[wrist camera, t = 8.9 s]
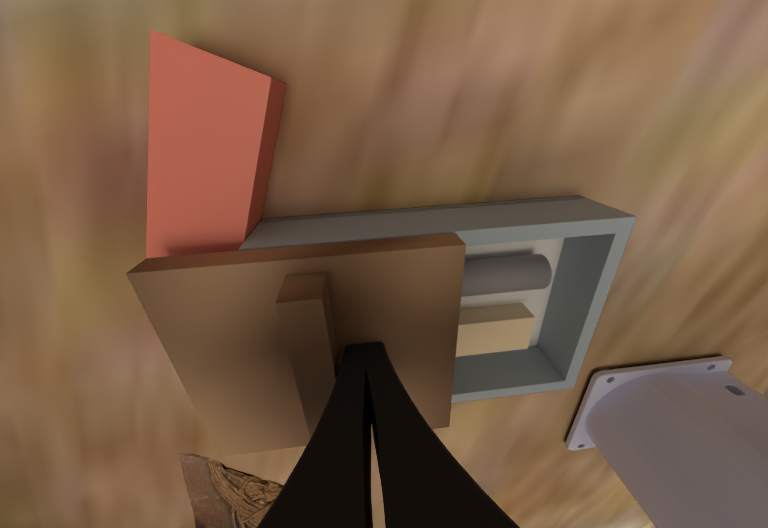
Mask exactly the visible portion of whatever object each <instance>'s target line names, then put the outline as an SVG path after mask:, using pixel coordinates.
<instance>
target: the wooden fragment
mask: <svg viewBox="0 0 768 528" xmlns="http://www.w3.org/2000/svg"><path fill="white" fill-rule="evenodd" d="M179 457H180V462H181V465H182V469H183V473H184V478H185V483H186V486H187V490H188V494H189V498H190V501H191V505H192V508H193V513H194V518H195V525H196V528H257V526H258V525H259V523H260V522H261V520H262V519H263V517H264V516H265V514H266V513H267V511H268V510H269V508H270V507H271V505H272V504H273V502H274V501H275V499H276V498H277V496H278V494H279V493H280V491H281V490H282V488H283V485H281V484H279V483H276V482H272V481H270V480H268V481H265V480H262V479H261V478H259V477H254V476H248V475H244V474H242V473H240V472H237V471H235V470H233V469H223V467H222V463H220V462H217V461H215V460H214V459H211V458H206V457H202V456H199V455H195V454H182V453H181V454H179Z"/></svg>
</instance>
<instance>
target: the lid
mask: <svg viewBox="0 0 768 528" xmlns="http://www.w3.org/2000/svg"><path fill="white" fill-rule="evenodd" d="M465 251H466V244H465V243H464V242H463V241H462V240H461V238H460V237H459V236H458V235H457V234H456V233H450V234H438V235H425V236H413V237H401V238H388V239H376V240H364V241H352V242H339V243H327V244H315V245H303V246H290V247H278V248H266V249H253V250H241V251H229V252H217V253H204V254H192V255H180V256H168V257H155V258H146V259H145V260H144V261H142V262H141V263H140V264H138V265H137V266H136V267H134V268H133V269H132V270H130V271H129V272H127V273H126V275H127V277H128V279H129V280H130V282H131V284H132V286H133V288H134V290H135V292H136V294H137V296H138V298H139V300H140V302H141V304H142V306H143V308H144V310H145V312H146V313H147V315H148V317H149V319H150V321H151V323H152V325H153V327H154V329H155V331H156V333H157V335H158V337H159V339H160V341H161V343H162V345H163V346H164V348H165V350H166V352H167V354H168V356H169V358H170V360H171V362H172V364H173V366H174V368H175V370H176V372H177V374H178V376H179V378H180V379H181V381H182V383H183V385H184V387H185V389H186V391H187V393H188V395H189V397H190V399H191V401H192V403H193V405H194V407H195V409H196V411H197V412H198V414H199V416H200V418H201V420H202V422H203V424H204V426H205V428H206V430H207V432H208V434H209V436H210V438H211V440H212V442H213V444H214V445H215V447H216V449H217V451H218V453H219V455H220V457H222V456H230V455H237V454H245V453H252V452H260V451H268V450H275V449H283V448H291V447H298V446H306V445H308V443H309V441H310V439H311V437H312V435H313V433H314V431H315V429H316V427H317V425H318V423H319V420H320V418H321V416H322V414H323V411H324V409H325V407H326V405H327V403H328V400H329V398H330V395H331V393H332V390H333V387H334V385H335V382H336V379H337V377H338V373H339V370H340V367H341V364H342V360H343V356H344V351H345V347H346V346H347V345H350V344H359V343H369V342H378V341H381V342H383V343H384V345H385V349H386V352H387V354H388V357H389V359H390V361H391V363H392V365H393V368H394V370H395V372H396V374H397V375H398V377H399V379H400V381H401V383H402V384H403V386H404V388H405V390H406V391H407V393H408V395H409V396H410V398H411V400H412V401H413V403H414V404H415V406H416V407H417V409H418V410H419V412H420V413H421V415H422V416H423V418H424V419H425V421H426V422H427V423H428V425H429V426H430V428H431V429H436V428H443V427H449V421H450V411H451V400H452V389H453V379H454V368H455V357H456V347H457V336H458V325H459V315H460V304H461V294H462V283H463V272H464V262H465ZM371 437H374V436H373V430H372V424H371Z"/></svg>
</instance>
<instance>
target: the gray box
mask: <svg viewBox="0 0 768 528" xmlns="http://www.w3.org/2000/svg"><path fill="white" fill-rule="evenodd" d="M635 220H636V216H633V215H631V214H628V213H625V212H623V211H620V210H617V209H615V208H612V207H609V206H606V205H604V204H601V203H598V202H596V201H593V200H590V199H588V198H585V197H582V196H567V197H553V198H540V199H526V200H513V201H499V202H486V203H473V204H459V205H446V206H432V207H419V208H405V209H392V210H378V211H365V212H351V213H338V214H324V215H311V216H297V217H284V218H270V219H262V220H261V221H260V222H259V224H258V225H257V226H256V228H255V229H254V230H253V231H252V233H251V234H250V235H249V236H248V238H247V239H246V240H245V241H244V243H243V244H242V245H241V247H240V248H239V251H241V250H253V249H266V248H278V247H290V246H303V245H315V244H327V243H339V242H352V241H364V240H376V239H388V238H401V237H413V236H425V235H438V234H450V233H456V234H457V235H458V236H459V237H460V238H461V240H462V241H463V242H464V243H465V244H466V251H465V262H464V272H463V283H462V294H461V304H460V315H459V325H458V336H457V347H456V357H455V368H454V379H453V389H452V400H451V403H458V402H466V401H474V400H482V399H489V398H497V397H505V396H513V395H521V394H529V393H537V392H545V391H553V390H561V389H569V388H574V385H575V382H576V380H577V377H578V374H579V371H580V369H581V366H582V363H583V361H584V358H585V355H586V353H587V350H588V347H589V344H590V342H591V339H592V336H593V334H594V331H595V328H596V325H597V323H598V320H599V317H600V315H601V312H602V309H603V306H604V304H605V301H606V298H607V296H608V293H609V290H610V287H611V285H612V282H613V279H614V277H615V274H616V271H617V268H618V266H619V263H620V260H621V258H622V255H623V252H624V249H625V247H626V244H627V241H628V239H629V236H630V233H631V230H632V228H633V225H634V222H635Z"/></svg>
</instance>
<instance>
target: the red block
mask: <svg viewBox="0 0 768 528" xmlns="http://www.w3.org/2000/svg"><path fill="white" fill-rule="evenodd" d="M286 85H287V84H285V83H283V82H280V81H278V80H276V79H274V78H271V77H269V76H266V75H264V74H261V73H259V72H256V71H254V70H251V69H249V68H246V67H244V66H241V65H239V64H236V63H234V62H231V61H229V60H226V59H224V58H221V57H219V56H216V55H213V54H211V53H208V52H206V51H203V50H201V49H198V48H196V47H193V46H191V45H188V44H186V43H183V42H181V41H178V40H176V39H173V38H171V37H168V36H166V35H163V34H161V33H158V32H156V31H153V30H151V32H150V84H149V137H148V190H147V243H146V258H155V257H168V256H180V255H192V254H204V253H217V252H229V251H239V248H240V247H241V245H242V244H243V243H244V241H245V240H246V239H247V238H248V236H249V235H250V234H251V233H252V231H253V230H254V229H255V228H256V226H257V225H258V224H259V222H260V221H261V218H262V213H263V208H264V202H265V197H266V192H267V186H268V181H269V176H270V170H271V165H272V159H273V154H274V149H275V143H276V138H277V133H278V127H279V122H280V117H281V111H282V106H283V101H284V95H285V90H286Z"/></svg>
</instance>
